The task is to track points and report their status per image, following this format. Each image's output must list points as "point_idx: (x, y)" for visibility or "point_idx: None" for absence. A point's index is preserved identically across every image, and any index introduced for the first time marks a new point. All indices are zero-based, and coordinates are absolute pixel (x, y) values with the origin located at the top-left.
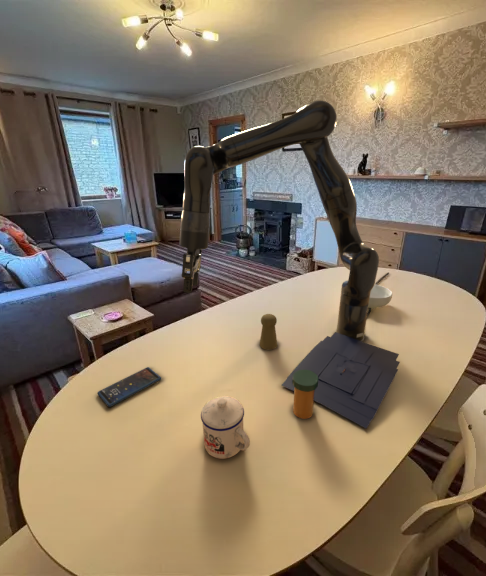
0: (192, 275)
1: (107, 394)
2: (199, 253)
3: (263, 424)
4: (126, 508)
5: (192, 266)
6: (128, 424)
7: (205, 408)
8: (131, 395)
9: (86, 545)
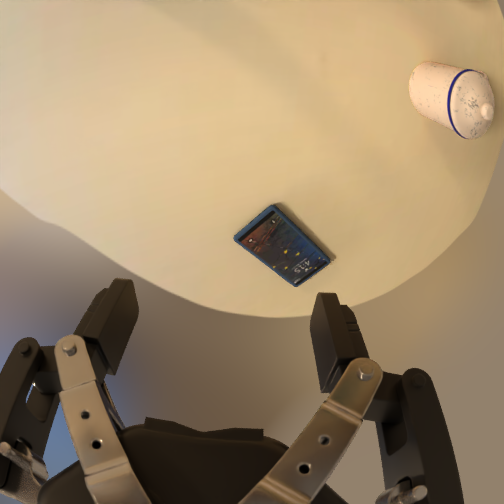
0: (424, 383)
1: (305, 273)
2: (3, 459)
3: (411, 23)
4: (458, 195)
5: (444, 445)
6: (367, 224)
7: (469, 133)
8: (310, 240)
9: (467, 217)
